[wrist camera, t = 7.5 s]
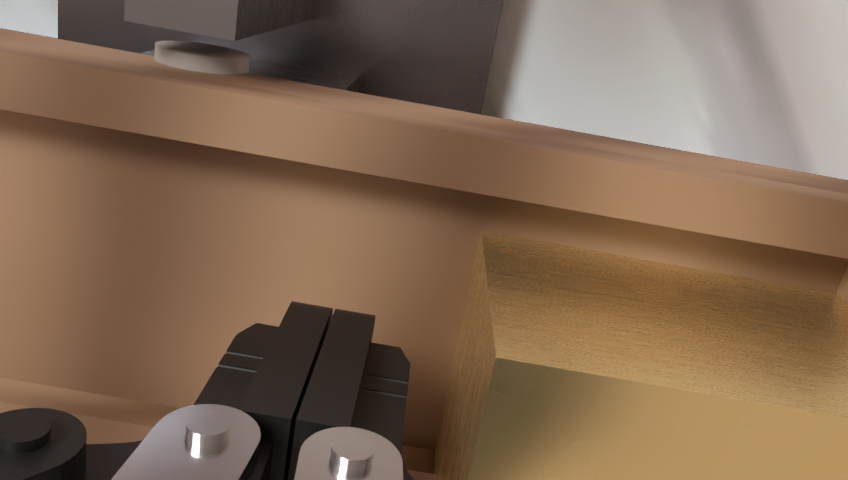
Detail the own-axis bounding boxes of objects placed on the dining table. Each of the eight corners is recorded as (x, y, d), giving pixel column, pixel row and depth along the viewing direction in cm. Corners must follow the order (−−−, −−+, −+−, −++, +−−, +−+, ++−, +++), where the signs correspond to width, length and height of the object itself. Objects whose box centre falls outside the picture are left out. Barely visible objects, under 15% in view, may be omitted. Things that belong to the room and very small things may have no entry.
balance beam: (818, 141, 18) (960, 204, 13) (711, 439, 21) (793, 586, 16) (-355, -70, 17) (-687, -90, 12) (-296, 268, 20) (-545, 365, 15)
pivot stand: (514, -73, 20) (550, -105, 12) (416, 423, 25) (397, 624, 18) (77, -154, 20) (-175, -240, 12) (71, 363, 25) (-106, 538, 17)
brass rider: (836, 293, 14) (1024, 448, 10) (753, 501, 16) (879, 720, 11) (481, 230, 14) (496, 357, 9) (435, 448, 16) (427, 647, 11)
